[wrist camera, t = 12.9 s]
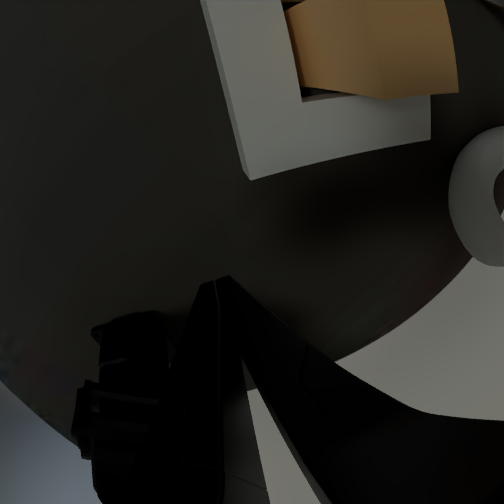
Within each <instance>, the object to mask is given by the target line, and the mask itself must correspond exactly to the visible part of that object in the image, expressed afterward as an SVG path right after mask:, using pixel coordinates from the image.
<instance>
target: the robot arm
mask: <svg viewBox="0 0 504 504" xmlns="http://www.w3.org/2000/svg"><path fill="white" fill-rule="evenodd" d="M149 318H151V319H149ZM91 336H92V337H93V338H94V340H95V341H96V342H97V343H98V344H99V345H100V346H101V347H100V356H99V366H100V373H99V383H95V382H92V381H91V380H86V379H85V385H84V387H83V388H79V389H77V398H76V407H75V412H74V417H73V423H72V428H71V436H72V437H73V438H74V440H75V441H76V442H77V443H78V448H79V449H80V450H81V457H82V459H86V460H91V463H92V478H93V487H94V489H95V491H96V492H97V495H98V498H99V499H100V501H101V502H102V503H103V504H270V500H269V496H268V492H267V490H266V489H267V487H266V483H265V478H264V474H263V469H262V464H261V460H260V455H259V450H258V445H257V440H256V436H255V431H254V426H253V421H252V415H251V411H250V405H249V400H248V395H247V389H246V384H245V379H244V373H243V368H242V362H241V357H240V353H241V356H242V358H243V360H244V362H245V364H246V367H247V369H248V371H249V373H250V375H251V377H252V379H253V381H254V383H255V385H256V387H257V389H258V391H259V393H260V395H261V397H262V399H263V400H264V403H265V404H266V406H267V408H268V410H269V412H270V414H271V416H272V418H273V420H274V422H275V423H276V425H277V427H278V429H279V431H280V433H281V435H282V436H283V438H284V440H285V442H286V444H287V446H288V448H289V449H290V451H291V453H292V455H293V457H294V458H295V460H296V462H297V464H298V465H299V467H300V469H301V471H302V472H303V474H304V476H305V477H306V479H307V481H308V483H309V484H310V486H311V488H312V490H313V491H314V493H315V495H316V496H317V498H318V500H319V501H320V503H321V504H504V421H500V420H483V419H469V418H460V417H451V416H443V415H436V414H430V413H426V412H422V411H419V410H416V409H414V408H411V407H409V406H407V405H405V404H403V403H401V402H400V401H398V400H396V399H394V398H392V397H390V396H389V395H387V394H385V393H383V392H382V391H380V390H378V389H376V388H375V387H373V386H371V385H369V384H368V383H366V382H364V381H363V380H361V379H359V378H358V377H356V376H354V375H353V374H351V373H350V372H348V371H347V370H345V369H343V368H342V367H340V366H339V365H338V364H336V363H335V362H334V361H332V360H331V359H330V358H328V357H327V356H326V355H324V354H323V353H322V352H320V351H319V350H318V349H317V348H316V347H314V346H313V345H312V344H309V342H308V341H307V340H306V339H304V338H303V337H302V336H301V335H300V334H298V333H297V332H296V331H295V330H294V329H293V328H291V327H290V326H289V325H288V324H287V323H285V322H284V321H283V320H282V319H281V318H279V317H278V316H277V315H276V314H275V313H274V312H272V311H271V310H270V309H269V308H268V307H267V306H265V305H264V304H263V303H262V302H261V301H260V300H258V299H257V298H256V297H255V296H254V295H253V294H251V293H250V292H249V291H248V290H247V289H246V288H245V287H243V286H242V285H241V284H240V283H239V282H238V281H237V280H235V279H234V278H233V277H232V276H230V275H228V276H225V277H222V278H218V279H217V280H216V281H214V280H212V281H209V282H206V283H203V284H201V285H200V287H199V290H198V292H197V295H196V298H195V300H194V303H193V306H192V308H191V311H190V314H189V316H188V319H187V322H186V324H185V327H184V330H183V333H182V335H181V338H180V341H179V344H178V347H177V346H176V345H175V343H174V342H173V341H172V339H171V338H170V336H169V335H168V333H167V332H166V331H165V329H164V328H163V326H162V325H161V323H160V322H159V320H158V319H157V317H156V316H155V314H153V313H150V312H148V313H144V314H141V315H137V316H134V317H131V318H127V319H124V320H120V321H117V322H113V323H110V324H107V325H103V326H100V327H96V328H93V329H92V330H91ZM239 351H240V353H239ZM171 360H173V361H172V363H171V366H170V369H169V363H168V361H171Z"/></svg>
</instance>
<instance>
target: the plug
mask: <svg viewBox="0 0 504 504" xmlns="http://www.w3.org/2000/svg"><path fill="white" fill-rule="evenodd" d="M284 16H285V21H286V25H287V29H288V33H289V38H290V42H291V47H292V52H293V57H294V62H295V66H296V70H297V74H298V78H299V82H300V86H304V87H312V88H320V89H327V90H334V91H340V92H346V93H352V94H357V95H362V96H367V97H372V98H377V99H381V100H390V99H397V98H404V97H412V96H421V95H431V94H443V93H459V90H458V78H457V68H456V60H455V53H454V46H453V40H452V35H451V29H450V24H449V20H448V15H447V11H446V7H445V3H444V0H306V1H304V2H301V3H299V4H297V5H295V6H293V7H291V8H289V9H288V10H286V11H284Z"/></svg>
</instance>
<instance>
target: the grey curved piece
mask: <svg viewBox="0 0 504 504" xmlns="http://www.w3.org/2000/svg"><path fill="white" fill-rule="evenodd" d="M503 169H504V126H500V127H495V128H492V129H489V130H486V131H484V132H482V133H480V134H478V135H477V136H475V137H474V138H473V139H472V140H471V141H470V142H469V143H468V144H467V145H466V146H465V147H464V148H463V149H462V150H461V152H460V153H459V155H458V157H457V159H456V161H455V163H454V166H453V169H452V173H451V178H450V183H449V192H448V201H449V212H450V216H451V219H452V223H453V225H454V228H455V230H456V232H457V234H458V236H459V238H460V240H461V242H462V243H463V245H464V247H465V248H466V249H467V251H468V252H469V253H470V254H471V255H472V256H473V257H474V258H476V259H477V260H478V261H480V262H482V263H484V264H487V265H490V266H504V221H503V220H502V218H501V216H500V214H499V212H498V210H497V208H496V205H495V202H494V196H493V187H494V182H495V179H496V177H497V175H498V174H499V173H500V172H501V171H502V170H503Z"/></svg>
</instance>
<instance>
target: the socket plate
mask: <svg viewBox="0 0 504 504" xmlns="http://www.w3.org/2000/svg"><path fill="white" fill-rule="evenodd" d="M304 1H306V0H200V2H201V6H202V9H203V13H204V17H205V21H206V25H207V29H208V32H209V36H210V40H211V44H212V48H213V52H214V56H215V60H216V63H217V67H218V71H219V75H220V79H221V83H222V87H223V91H224V95H225V99H226V103H227V107H228V111H229V115H230V119H231V123H232V127H233V131H234V135H235V139H236V143H237V147H238V152H239V156H240V160H241V164H242V168H243V170H244V172H245V173H246V175H247V176H248V178H249V179H250V180H254V179H257V178H261V177H264V176H268V175H271V174H275V173H279V172H282V171H286V170H290V169H294V168H297V167H301V166H305V165H309V164H313V163H317V162H322V161H326V160H330V159H334V158H339V157H343V156H347V155H352V154H357V153H361V152H366V151H371V150H376V149H381V148H386V147H391V146H396V145H402V144H408V143H413V142H419V141H425V140H431V106H430V95H421V96H412V97H404V98H397V99H390V100H381V99H377V98H372V97H367V96H362V95H357V94H352V93H346V92H337V93H329V94H322V95H315V96H308V97H302V98H301V93H300V88H299V82H298V77H297V72H296V67H295V62H294V57H293V52H292V47H291V42H290V38H289V33H288V29H287V25H286V21H285V16H284V12H283V8H282V4H281V3H284V2H304Z"/></svg>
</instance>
